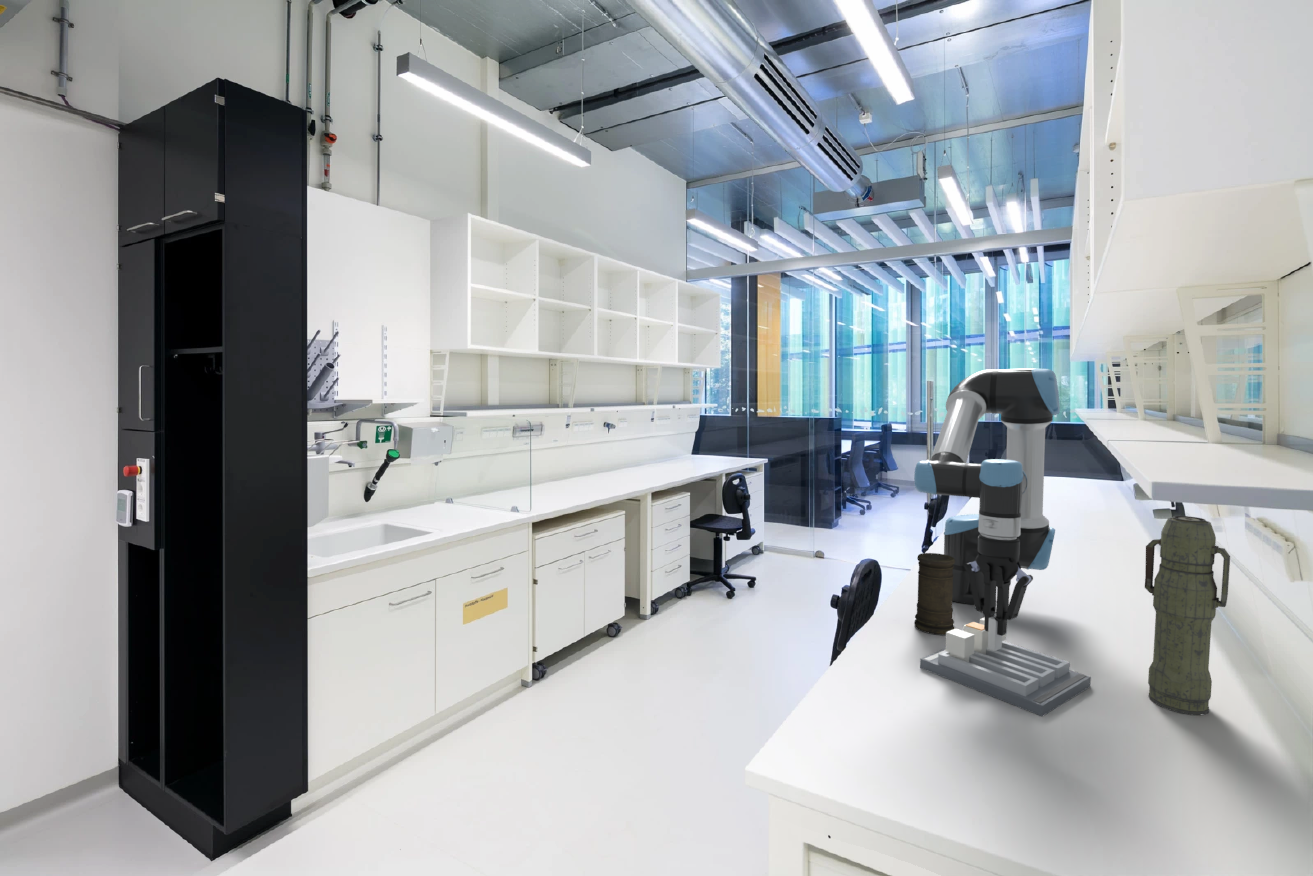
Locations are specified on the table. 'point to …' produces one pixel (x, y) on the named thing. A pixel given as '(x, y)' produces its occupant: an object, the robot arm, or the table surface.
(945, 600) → the container
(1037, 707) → the panel
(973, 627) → the handle
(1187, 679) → the thermos
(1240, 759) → the table surface
